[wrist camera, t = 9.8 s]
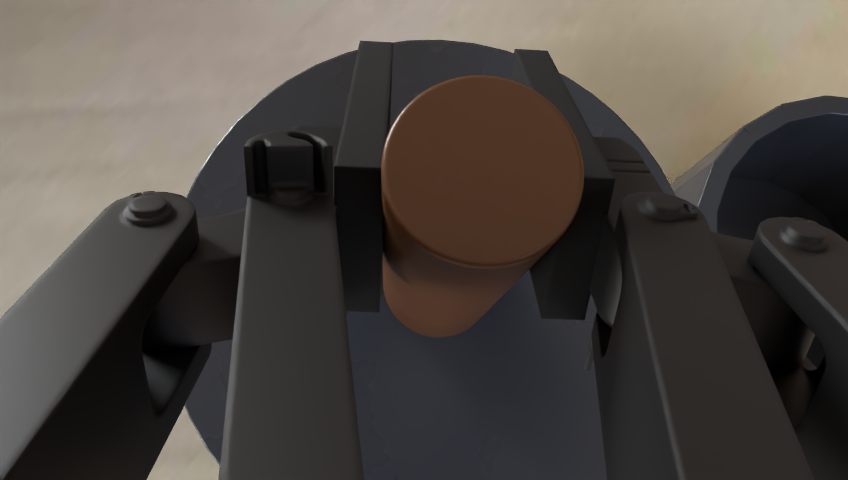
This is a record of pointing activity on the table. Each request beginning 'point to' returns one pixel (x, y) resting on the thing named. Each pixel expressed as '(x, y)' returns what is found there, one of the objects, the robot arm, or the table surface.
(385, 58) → the robot arm
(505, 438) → the lid
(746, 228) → the tin
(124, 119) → the table surface
